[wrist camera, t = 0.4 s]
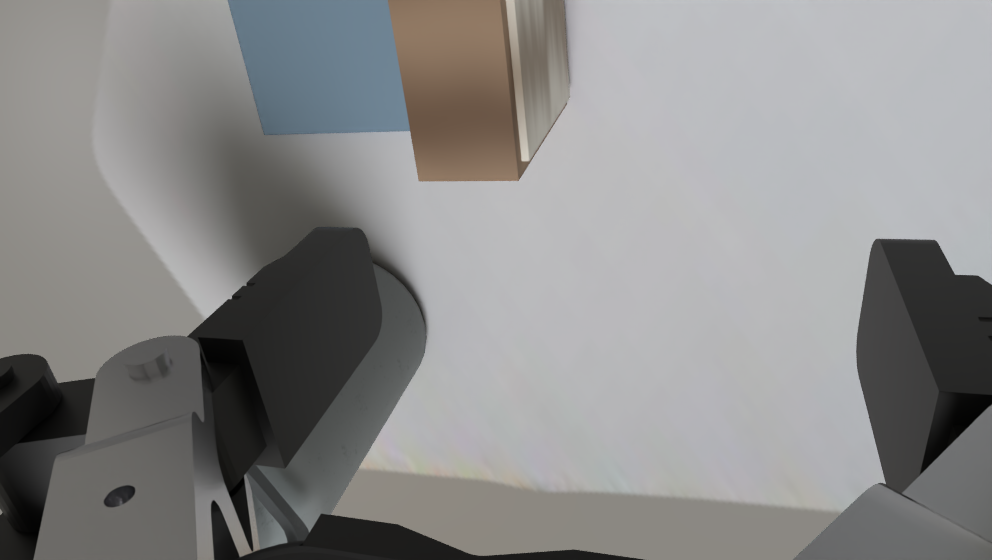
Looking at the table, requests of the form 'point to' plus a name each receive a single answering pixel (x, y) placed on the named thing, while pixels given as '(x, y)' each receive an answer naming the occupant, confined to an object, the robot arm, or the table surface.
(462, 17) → the wooden block
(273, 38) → the rubber mat
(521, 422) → the table surface
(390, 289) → the water bottle
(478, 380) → the table surface
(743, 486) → the table surface
